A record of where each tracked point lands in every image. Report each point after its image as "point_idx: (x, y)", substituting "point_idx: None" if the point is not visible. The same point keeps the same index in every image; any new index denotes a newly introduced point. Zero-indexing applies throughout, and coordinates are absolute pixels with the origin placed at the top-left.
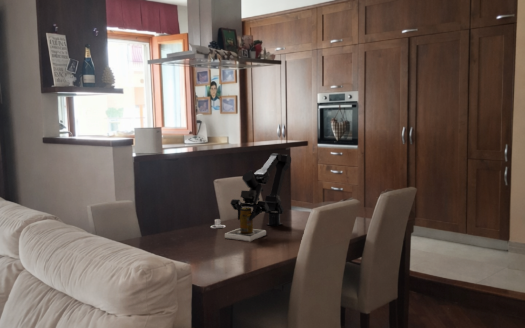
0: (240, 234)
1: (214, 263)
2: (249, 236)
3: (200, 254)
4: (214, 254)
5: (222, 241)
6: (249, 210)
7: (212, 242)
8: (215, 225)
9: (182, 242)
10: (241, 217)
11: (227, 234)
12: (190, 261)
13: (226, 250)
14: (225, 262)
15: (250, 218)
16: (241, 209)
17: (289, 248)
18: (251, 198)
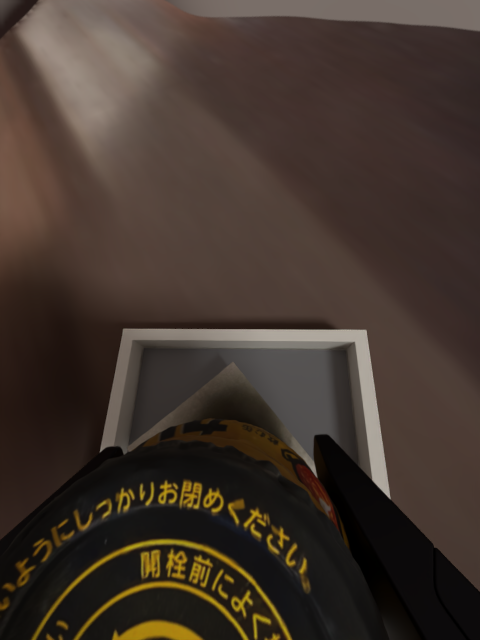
0: (238, 375)
1: (135, 40)
2: (130, 330)
3: (244, 75)
4: (192, 95)
5: (303, 262)
6: (5, 585)
7: (340, 221)
8: None
9: None
10: (249, 424)
11: (335, 331)
12: (222, 23)
13: (176, 148)
14: (105, 58)
15: (91, 461)
16: (260, 472)
17: None
18: None
